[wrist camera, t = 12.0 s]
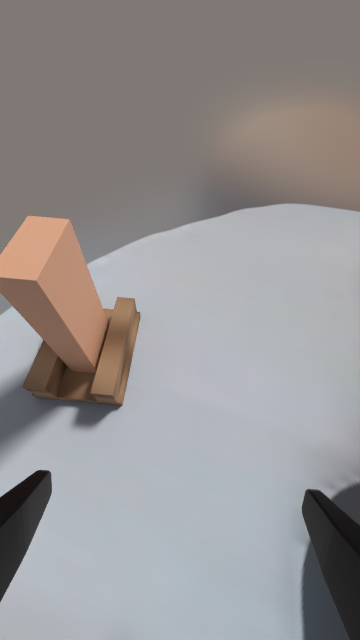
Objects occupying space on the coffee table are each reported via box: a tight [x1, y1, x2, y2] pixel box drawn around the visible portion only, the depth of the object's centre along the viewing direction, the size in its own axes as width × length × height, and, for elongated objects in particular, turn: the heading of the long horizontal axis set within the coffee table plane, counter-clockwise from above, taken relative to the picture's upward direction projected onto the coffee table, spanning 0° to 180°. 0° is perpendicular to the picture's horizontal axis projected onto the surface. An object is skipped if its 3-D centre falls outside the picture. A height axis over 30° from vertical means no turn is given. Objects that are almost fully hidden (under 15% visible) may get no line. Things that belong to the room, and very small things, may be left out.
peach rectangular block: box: [0, 216, 109, 373], centre depth 18 cm, size 5×2×13 cm, turn 176°
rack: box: [23, 297, 140, 405], centre depth 23 cm, size 10×8×3 cm
